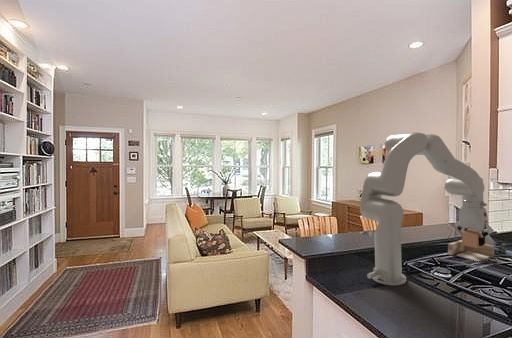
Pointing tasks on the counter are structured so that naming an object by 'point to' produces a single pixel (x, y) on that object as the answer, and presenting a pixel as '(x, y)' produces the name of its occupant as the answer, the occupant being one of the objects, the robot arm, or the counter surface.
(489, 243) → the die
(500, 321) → the counter surface
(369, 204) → the robot arm
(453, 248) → the tan box
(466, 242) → the cube
